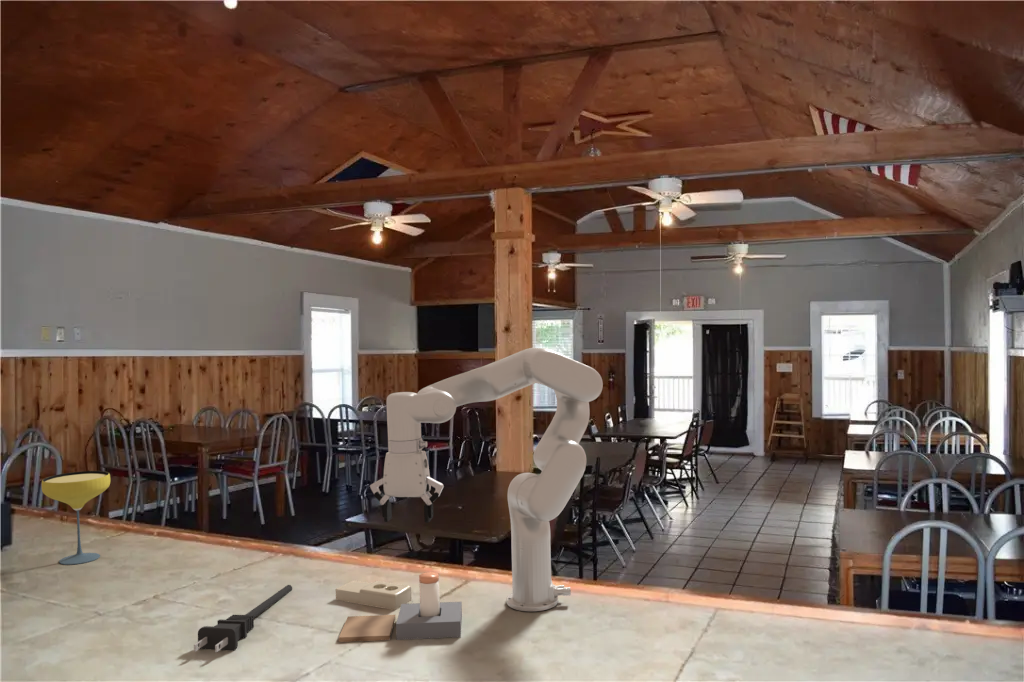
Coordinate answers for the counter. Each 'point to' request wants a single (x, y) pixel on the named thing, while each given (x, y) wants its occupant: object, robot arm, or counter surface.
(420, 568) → the counter surface
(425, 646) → the counter surface
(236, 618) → the electrical plug
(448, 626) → the socket block
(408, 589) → the electrical outlet
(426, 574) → the plug
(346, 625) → the board
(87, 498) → the cocktail glass
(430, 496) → the robot arm
